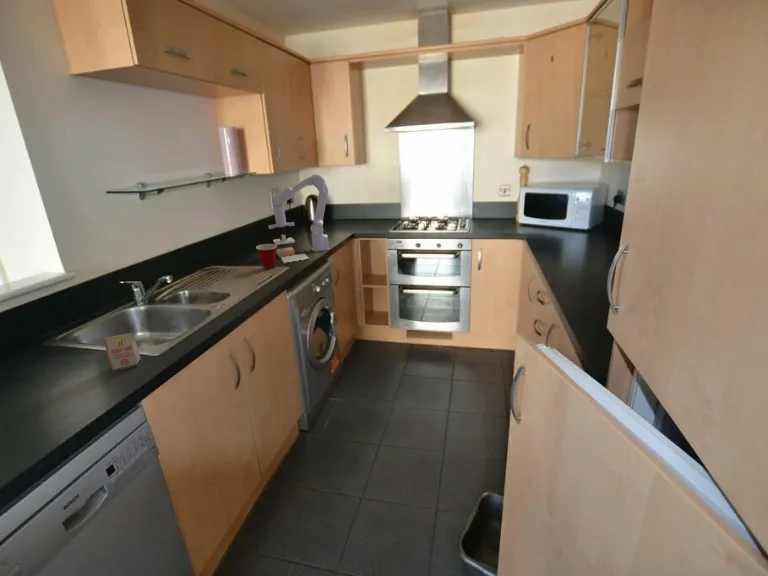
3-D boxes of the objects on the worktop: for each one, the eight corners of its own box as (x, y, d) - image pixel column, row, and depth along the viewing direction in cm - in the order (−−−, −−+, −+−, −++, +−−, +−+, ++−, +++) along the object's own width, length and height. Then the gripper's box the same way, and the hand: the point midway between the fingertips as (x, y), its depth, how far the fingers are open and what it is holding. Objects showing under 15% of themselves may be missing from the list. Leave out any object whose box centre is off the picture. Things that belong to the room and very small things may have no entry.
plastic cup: (273, 271, 205) (269, 248, 201) (255, 270, 209) (251, 248, 205) (284, 265, 215) (281, 243, 211) (267, 264, 219) (263, 243, 215)
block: (292, 251, 244) (291, 247, 243) (294, 254, 236) (294, 250, 235) (277, 254, 241) (276, 249, 240) (279, 257, 233) (278, 252, 232)
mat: (304, 254, 236) (304, 253, 236) (309, 259, 224) (309, 258, 223) (280, 257, 231) (280, 257, 231) (284, 263, 219) (284, 262, 219)
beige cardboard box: (116, 365, 119) (106, 335, 116) (141, 360, 121) (132, 330, 118) (112, 371, 116) (102, 340, 112) (138, 366, 118) (129, 335, 114)
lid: (292, 239, 242) (291, 232, 241) (295, 242, 233) (294, 235, 231) (273, 241, 239) (272, 234, 237) (275, 244, 229) (274, 237, 228)
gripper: (291, 213, 237) (295, 236, 241) (266, 217, 232) (270, 240, 236) (293, 215, 230) (297, 238, 235) (267, 218, 226) (271, 242, 230)
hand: (283, 239), depth 235 cm, fingers closed on lid, 3 cm apart
